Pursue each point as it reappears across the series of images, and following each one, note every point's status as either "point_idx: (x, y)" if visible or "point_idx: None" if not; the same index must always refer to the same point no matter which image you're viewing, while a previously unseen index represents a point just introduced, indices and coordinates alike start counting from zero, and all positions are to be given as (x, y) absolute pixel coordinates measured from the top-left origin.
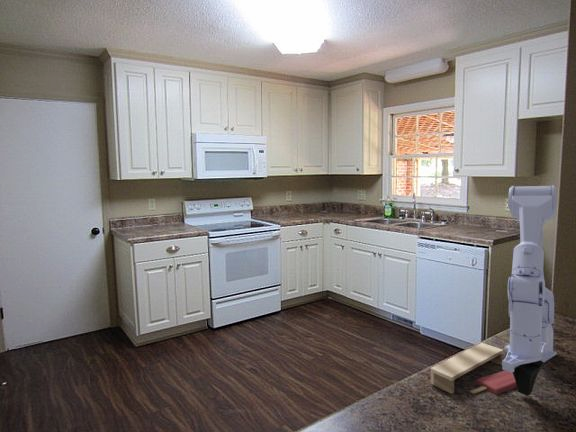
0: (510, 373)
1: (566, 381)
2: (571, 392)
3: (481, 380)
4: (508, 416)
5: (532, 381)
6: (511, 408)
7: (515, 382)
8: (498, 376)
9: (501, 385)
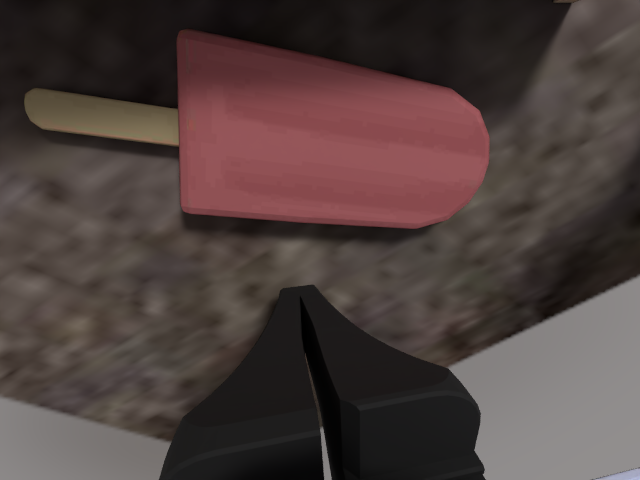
0: (443, 147)
1: (553, 303)
2: (475, 354)
3: (195, 73)
4: (78, 352)
5: (318, 400)
6: (151, 321)
7: (363, 224)
8: (351, 120)
9: (258, 204)
